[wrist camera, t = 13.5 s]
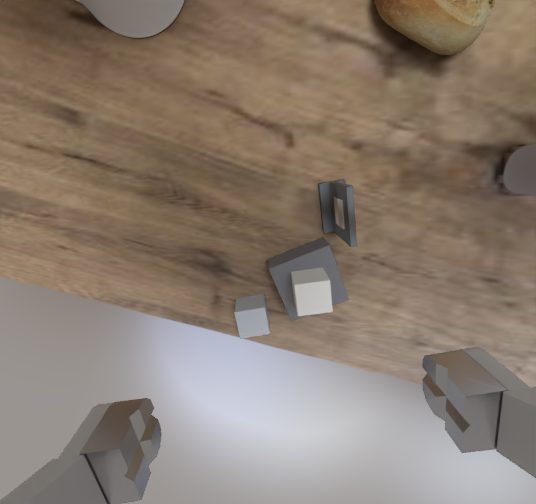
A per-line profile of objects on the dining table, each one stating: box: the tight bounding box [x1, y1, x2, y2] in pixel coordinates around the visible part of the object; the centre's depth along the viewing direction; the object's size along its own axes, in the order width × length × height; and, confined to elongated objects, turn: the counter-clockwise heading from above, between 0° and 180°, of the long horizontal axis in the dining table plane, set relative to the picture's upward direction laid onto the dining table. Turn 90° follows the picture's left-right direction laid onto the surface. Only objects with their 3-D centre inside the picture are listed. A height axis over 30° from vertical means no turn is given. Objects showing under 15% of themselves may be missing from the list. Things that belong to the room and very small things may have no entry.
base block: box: [268, 237, 349, 321], centre depth 47 cm, size 10×10×5 cm
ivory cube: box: [291, 267, 333, 316], centre depth 43 cm, size 5×5×5 cm
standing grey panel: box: [318, 179, 357, 247], centre depth 41 cm, size 8×4×10 cm, turn 9°
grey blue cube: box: [234, 294, 270, 339], centre depth 49 cm, size 5×5×5 cm
